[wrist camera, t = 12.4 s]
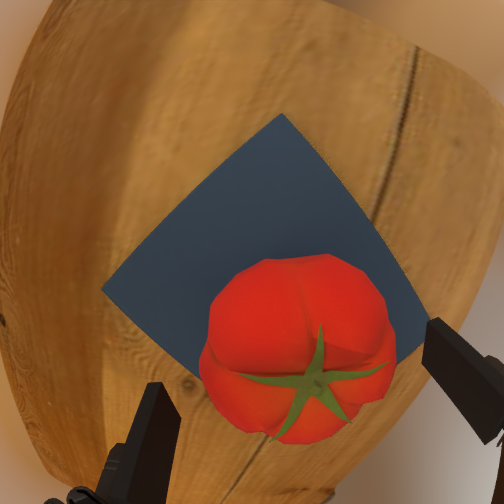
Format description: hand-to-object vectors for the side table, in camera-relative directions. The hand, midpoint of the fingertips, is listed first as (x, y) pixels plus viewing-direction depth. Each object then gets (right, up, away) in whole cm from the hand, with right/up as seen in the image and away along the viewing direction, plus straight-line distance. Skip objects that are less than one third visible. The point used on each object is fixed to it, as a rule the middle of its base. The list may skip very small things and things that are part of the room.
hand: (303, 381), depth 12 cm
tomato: (0, +2, +6) cm, 6 cm away
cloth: (0, +2, +6) cm, 7 cm away
